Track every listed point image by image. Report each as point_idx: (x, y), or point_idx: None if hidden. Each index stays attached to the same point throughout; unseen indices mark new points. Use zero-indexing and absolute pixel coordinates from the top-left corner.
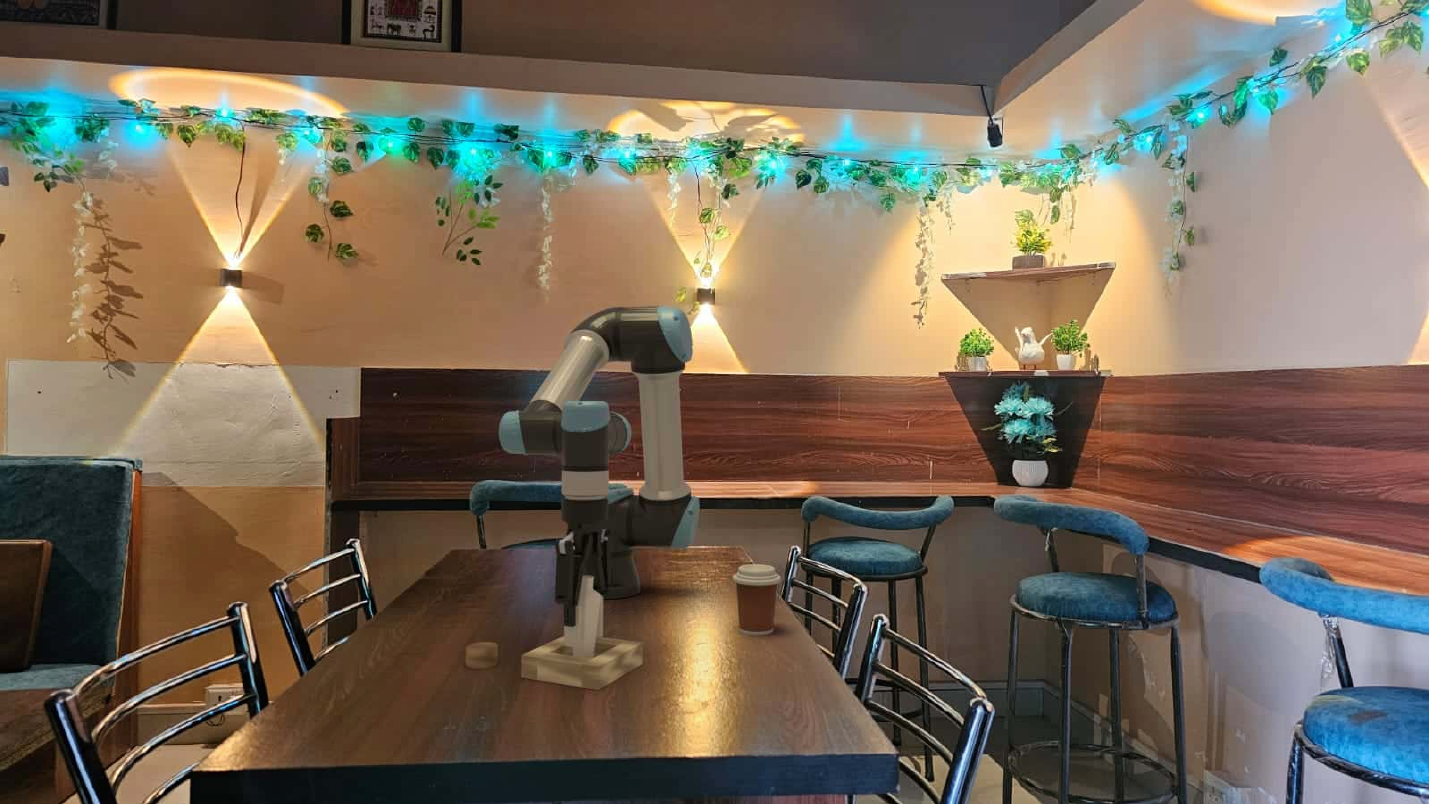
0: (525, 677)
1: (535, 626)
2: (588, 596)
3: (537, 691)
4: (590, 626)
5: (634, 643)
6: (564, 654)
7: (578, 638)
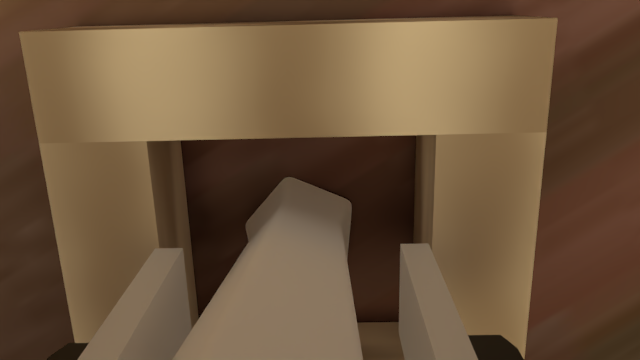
0: None
1: None
2: None
3: (611, 246)
4: (310, 284)
5: (61, 71)
6: None
7: (438, 269)
